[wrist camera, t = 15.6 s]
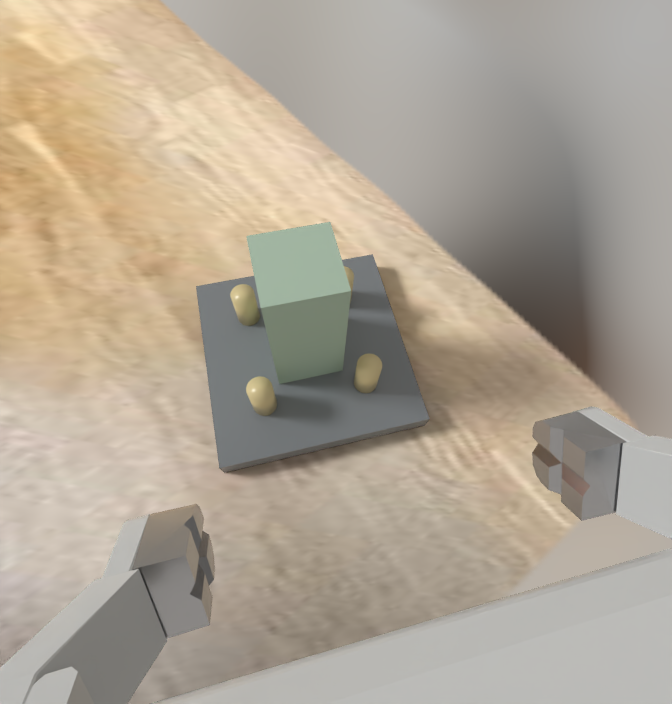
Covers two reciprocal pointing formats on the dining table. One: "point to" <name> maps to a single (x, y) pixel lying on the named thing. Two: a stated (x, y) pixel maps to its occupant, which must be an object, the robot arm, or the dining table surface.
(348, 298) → the green block
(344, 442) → the plate
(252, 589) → the dining table surface
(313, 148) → the dining table surface
